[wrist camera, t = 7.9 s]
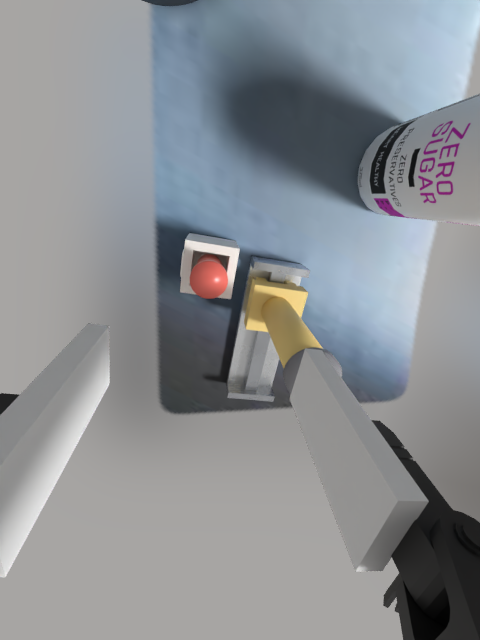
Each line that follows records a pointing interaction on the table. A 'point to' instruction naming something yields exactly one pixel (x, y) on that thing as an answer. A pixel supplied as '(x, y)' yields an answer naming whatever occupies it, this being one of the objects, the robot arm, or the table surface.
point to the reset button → (208, 277)
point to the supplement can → (427, 167)
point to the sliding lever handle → (283, 323)
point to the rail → (258, 337)
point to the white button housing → (208, 245)
